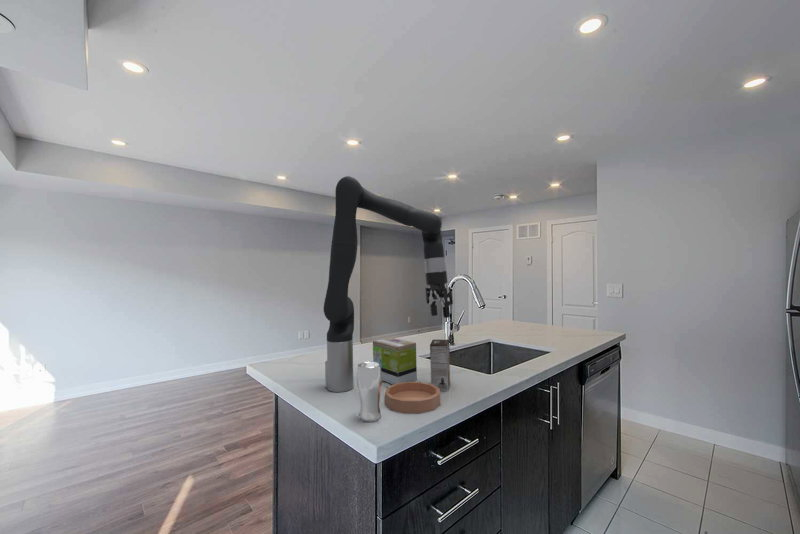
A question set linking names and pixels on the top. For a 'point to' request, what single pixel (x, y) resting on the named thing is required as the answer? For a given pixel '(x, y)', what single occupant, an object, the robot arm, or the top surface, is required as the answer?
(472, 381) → the top surface
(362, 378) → the beer glass
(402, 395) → the terracotta dish
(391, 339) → the tea box
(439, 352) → the coffee box
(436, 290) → the robot arm
